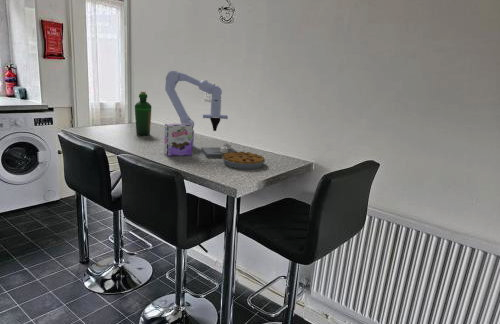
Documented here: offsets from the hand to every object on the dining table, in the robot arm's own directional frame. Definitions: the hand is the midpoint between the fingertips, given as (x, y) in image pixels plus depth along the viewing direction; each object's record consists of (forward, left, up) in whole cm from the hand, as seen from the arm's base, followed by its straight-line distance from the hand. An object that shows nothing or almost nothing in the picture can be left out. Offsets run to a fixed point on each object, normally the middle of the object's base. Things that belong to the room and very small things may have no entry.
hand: (214, 130), depth 201 cm
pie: (+7, -36, -11) cm, 38 cm away
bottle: (-39, +38, -11) cm, 55 cm away
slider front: (+1, -20, -8) cm, 22 cm away
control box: (0, -15, -10) cm, 19 cm away
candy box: (-23, -16, -11) cm, 30 cm away
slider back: (+5, -11, -8) cm, 15 cm away
